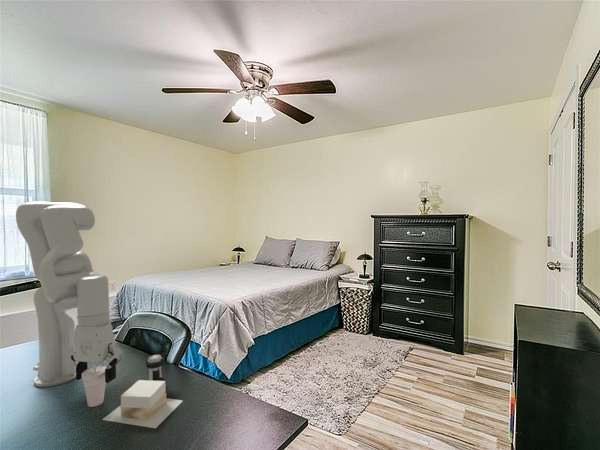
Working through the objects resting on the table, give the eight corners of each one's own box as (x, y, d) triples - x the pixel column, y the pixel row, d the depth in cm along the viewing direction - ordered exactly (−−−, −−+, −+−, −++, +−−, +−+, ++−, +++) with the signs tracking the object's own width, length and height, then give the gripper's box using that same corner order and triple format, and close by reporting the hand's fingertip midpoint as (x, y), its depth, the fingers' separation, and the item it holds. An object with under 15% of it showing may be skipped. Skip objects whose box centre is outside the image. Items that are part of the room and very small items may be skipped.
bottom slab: (120, 416, 83) (120, 405, 83) (142, 399, 91) (141, 389, 91) (147, 420, 82) (146, 409, 81) (166, 402, 89) (166, 392, 89)
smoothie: (80, 413, 85) (79, 363, 85) (84, 401, 91) (82, 354, 91) (108, 407, 88) (106, 358, 88) (109, 395, 94) (108, 349, 94)
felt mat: (102, 421, 82) (101, 419, 82) (135, 395, 94) (135, 394, 94) (155, 430, 79) (155, 428, 79) (183, 402, 90) (183, 400, 90)
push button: (148, 397, 93) (147, 364, 93) (138, 392, 96) (137, 359, 95) (168, 387, 98) (167, 356, 98) (158, 382, 101) (157, 351, 101)
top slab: (121, 407, 83) (120, 396, 82) (138, 390, 90) (138, 380, 90) (150, 408, 82) (150, 397, 82) (165, 391, 90) (165, 381, 90)
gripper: (56, 322, 87) (58, 383, 87) (109, 325, 83) (111, 388, 84) (80, 314, 94) (82, 370, 95) (130, 316, 91) (132, 375, 91)
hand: (96, 379), depth 89 cm, fingers open, 9 cm apart
